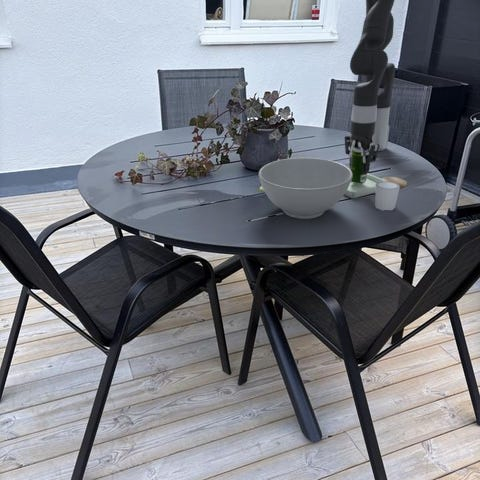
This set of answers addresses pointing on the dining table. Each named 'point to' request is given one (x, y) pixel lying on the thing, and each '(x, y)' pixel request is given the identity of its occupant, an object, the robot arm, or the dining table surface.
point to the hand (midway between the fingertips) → (358, 170)
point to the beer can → (357, 166)
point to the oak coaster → (396, 181)
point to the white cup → (386, 195)
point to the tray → (363, 187)
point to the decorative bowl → (305, 185)
